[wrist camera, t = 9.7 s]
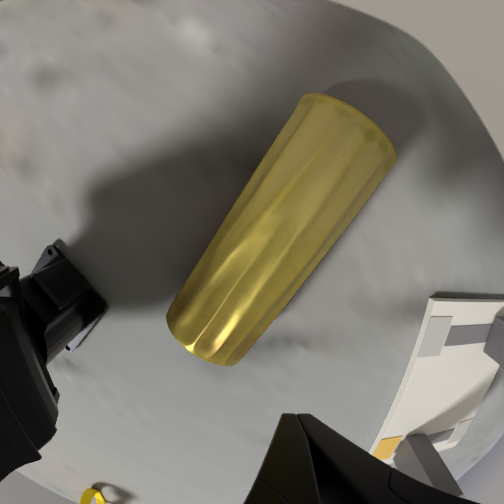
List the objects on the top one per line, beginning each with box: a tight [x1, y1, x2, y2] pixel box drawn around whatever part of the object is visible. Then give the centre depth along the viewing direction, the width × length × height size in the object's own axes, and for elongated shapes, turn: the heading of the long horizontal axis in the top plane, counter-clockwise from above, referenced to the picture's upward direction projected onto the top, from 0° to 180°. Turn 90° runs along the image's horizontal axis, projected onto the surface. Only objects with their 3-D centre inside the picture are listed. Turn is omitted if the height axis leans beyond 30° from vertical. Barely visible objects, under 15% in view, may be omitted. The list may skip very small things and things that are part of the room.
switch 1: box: [393, 433, 466, 499], centre depth 17 cm, size 2×4×10 cm
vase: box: [166, 93, 397, 366], centre depth 16 cm, size 6×6×14 cm
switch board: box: [369, 298, 504, 464], centre depth 21 cm, size 13×19×1 cm
